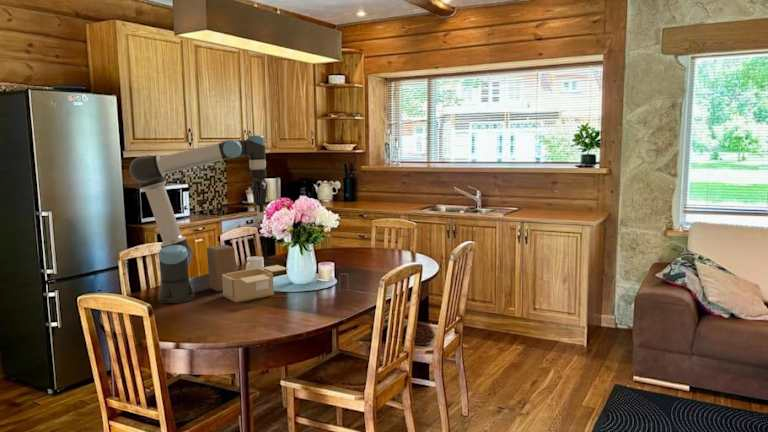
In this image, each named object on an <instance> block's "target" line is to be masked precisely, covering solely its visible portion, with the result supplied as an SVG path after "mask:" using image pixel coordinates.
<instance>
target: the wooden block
mask: <svg viewBox="0 0 768 432" xmlns="http://www.w3.org/2000/svg"><path fill="white" fill-rule="evenodd" d="M206 253H207V267H208V268H207V269H208V270H207V271H208V284H209V285H208V286H209V288H210V289H212V290H213V291H216V292H223V283H222V274H227V273H231V272H237V271H236V254H235V247H234V246H231V245H227V244H219V245H213V246H208V247H207V248H206Z"/></svg>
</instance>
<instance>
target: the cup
mask: <svg viewBox="0 0 768 432" xmlns="http://www.w3.org/2000/svg"><path fill="white" fill-rule="evenodd" d="M264 263H265V262H264V257H263V256H261V255H258V256H249V257H247V258H246V264H245V269H244V270H252V269H257V268H260V269H262V268H263V267H265V264H264ZM262 270H265V269H262Z"/></svg>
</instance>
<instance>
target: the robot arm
mask: <svg viewBox="0 0 768 432" xmlns="http://www.w3.org/2000/svg"><path fill="white" fill-rule="evenodd" d="M265 141H266V140H265V136H263V135H259V134H258V135H257V134H256V135H248V136H247V139H231V140H230V139H228V140H222V141H221V142H218V143H214V144H210V145H206V146H200V147H196V148H192V149H188V150H184V151H180V152H178V151H177V152H175V153H171V154H165V155H162V156H161V155H158V154H155V155H149V154H147V155H143V156H142V155H141V156H138V157H136V158H134V159H133V160H132V161H131V163H130V164H129V174H130V176H131V177H132V179H134V180H135V181H136V182H138V186H139V188H140V190H142V191H144V192H145V195H146V197H147V200H148V203H149V206H150V208H151V212H152V214H153V217H154V220H155V222H156V226H157V228H158V231H159V235H160V238H161V240H162V242H161V243H160V247H161V248H160V249H159V252H158V260H159V272H160V282H161V283H160V287H159V292H158V294H157V299H158V300H157V301H159V302H161V303H160V304H163V303H177V304H183V303H187V302H190V301H192V300H193V299H195V291H194V289H193V287H192V285H191V282H190V276H189V275H190V274H189V266H190V265H191V264H192V262H193V258H194V252H193V249H192V247H191V246H190V245H189V242H188V240H187V237H186V236H184V235H182V233H181V230H180V228H179V224H178V221H177V219H176V215H175V212H174V209H173V206H172V203H171V201H170V197H169V195H168V192H167V189H166V184H167V182H168V181H167V178H166V175H167V174H170V173H175V172H179V171H182V170H187V169H190V168H195V167H199V166H203V165H208V164H212V163H217V162H220V161H224V160H229V159H236V158H239V157H248V159H249V160H248V163H249V165H248V167H249V169H250V170H249V177H250V178H252V182H251V183H250V186H251V190H252V191H251V193H252V198H253V203H254V204H255V206H256V213H257V214H256V219H257V220H264V219H265V216H264V215H265V214H264V212H265V211H264V206H265V205H266V203H267V189H268V183H265V178H267V176H268V175H267V169H266V168H267V161H266V159H267V157H266V142H265ZM159 302H158V303H159ZM182 302H183V303H182Z"/></svg>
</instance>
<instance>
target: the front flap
mask: <svg viewBox="0 0 768 432" xmlns="http://www.w3.org/2000/svg"><path fill="white" fill-rule="evenodd" d="M240 280H241V281H243V282H244V283H246V284H248V283H254V282H259V281H265V280H270V278H269V277H267V276H265V275H264V274H262V275H256V276H250V277H245V278H240Z"/></svg>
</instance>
